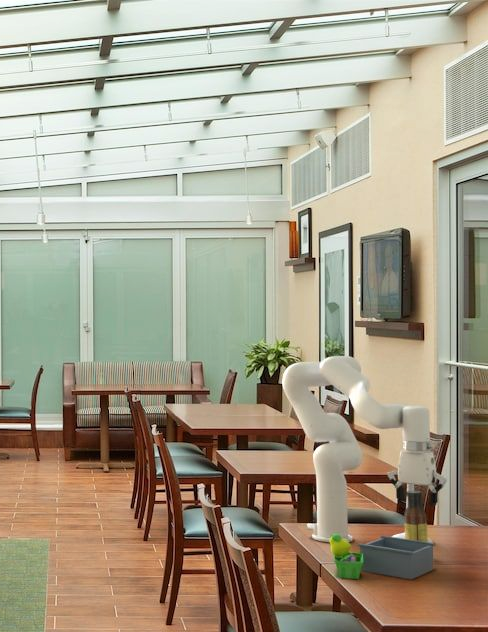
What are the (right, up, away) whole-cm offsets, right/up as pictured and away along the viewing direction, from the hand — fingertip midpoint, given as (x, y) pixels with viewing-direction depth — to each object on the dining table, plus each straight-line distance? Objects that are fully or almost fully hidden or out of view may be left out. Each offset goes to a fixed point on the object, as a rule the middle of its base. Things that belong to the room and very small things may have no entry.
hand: (416, 503), depth 291 cm
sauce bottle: (0, -17, 0) cm, 17 cm away
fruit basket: (-29, -16, -21) cm, 39 cm away
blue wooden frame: (-13, -16, -16) cm, 26 cm away
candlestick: (+7, -17, +21) cm, 28 cm away
